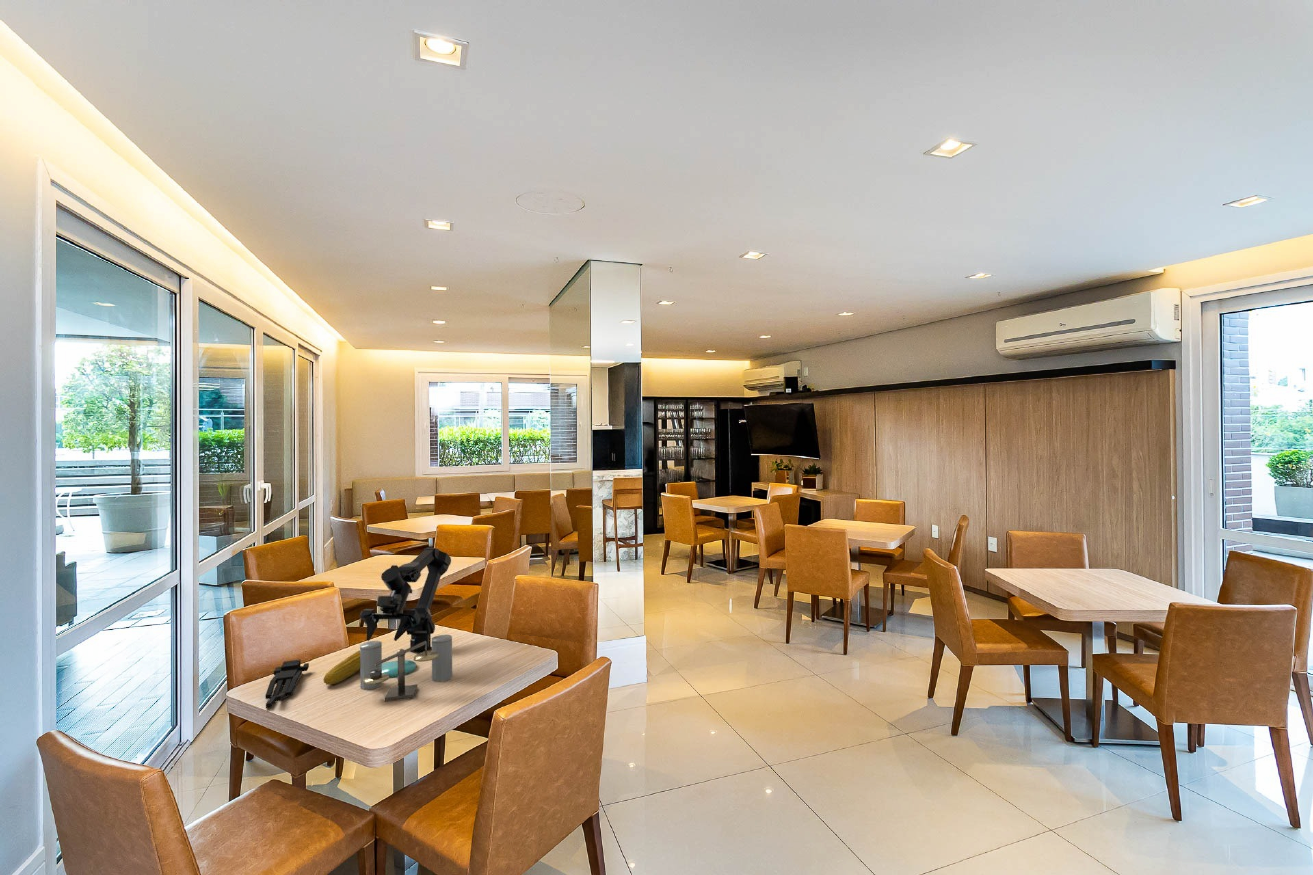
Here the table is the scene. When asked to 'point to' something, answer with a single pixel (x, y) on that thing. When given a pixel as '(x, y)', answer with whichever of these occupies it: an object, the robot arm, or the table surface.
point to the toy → (284, 680)
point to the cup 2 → (442, 658)
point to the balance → (399, 674)
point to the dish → (392, 668)
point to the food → (343, 669)
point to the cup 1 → (369, 661)
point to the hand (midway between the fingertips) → (381, 640)
